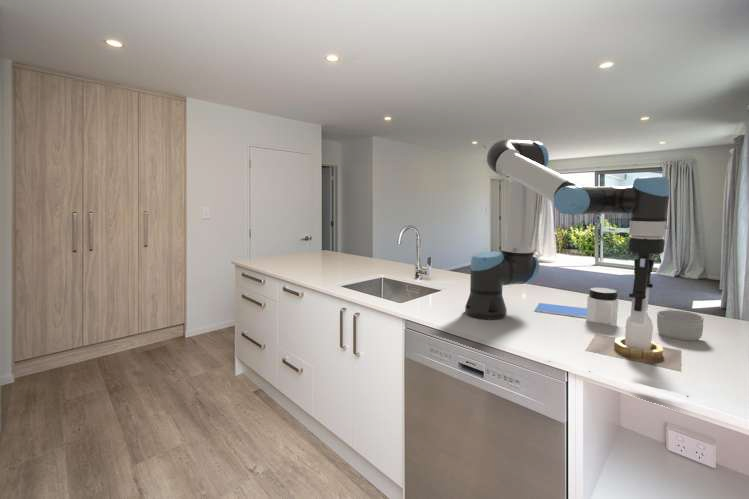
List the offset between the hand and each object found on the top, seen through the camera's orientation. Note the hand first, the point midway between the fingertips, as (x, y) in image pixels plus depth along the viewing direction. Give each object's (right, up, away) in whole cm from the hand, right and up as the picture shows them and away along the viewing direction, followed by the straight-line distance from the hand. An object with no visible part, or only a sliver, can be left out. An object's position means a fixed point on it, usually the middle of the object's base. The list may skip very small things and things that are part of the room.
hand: (639, 316), depth 96 cm
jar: (+7, -8, +28) cm, 30 cm away
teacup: (+22, -10, +14) cm, 28 cm away
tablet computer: (+2, -7, +44) cm, 44 cm away
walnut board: (-1, -11, +2) cm, 11 cm away
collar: (0, -10, +1) cm, 10 cm away
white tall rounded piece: (0, -10, +1) cm, 10 cm away
